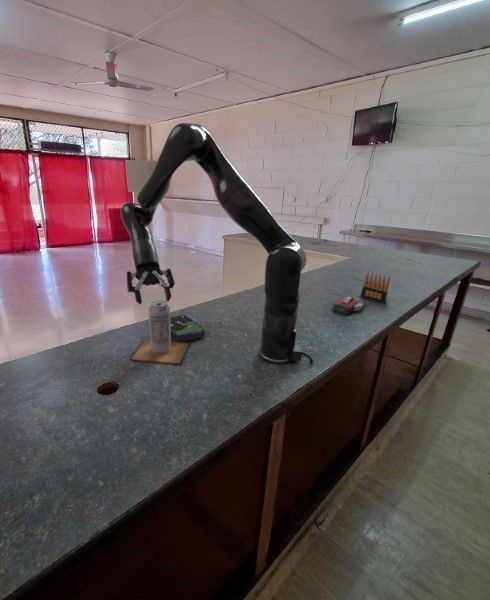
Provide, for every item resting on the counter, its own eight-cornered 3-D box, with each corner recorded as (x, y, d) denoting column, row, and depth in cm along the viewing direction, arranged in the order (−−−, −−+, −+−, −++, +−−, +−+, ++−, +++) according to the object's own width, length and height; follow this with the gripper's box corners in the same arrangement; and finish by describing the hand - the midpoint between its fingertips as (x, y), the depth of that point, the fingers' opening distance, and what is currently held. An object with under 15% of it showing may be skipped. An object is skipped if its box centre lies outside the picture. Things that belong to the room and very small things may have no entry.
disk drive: (158, 327, 110) (177, 343, 99) (157, 319, 109) (177, 335, 98) (184, 321, 116) (205, 336, 104) (184, 314, 115) (205, 328, 103)
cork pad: (188, 344, 99) (188, 343, 99) (179, 364, 88) (179, 363, 88) (145, 340, 101) (145, 339, 101) (131, 359, 90) (131, 358, 90)
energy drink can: (172, 345, 97) (172, 300, 92) (168, 355, 92) (167, 308, 86) (153, 344, 98) (151, 299, 92) (148, 354, 92) (146, 306, 87)
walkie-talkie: (352, 317, 123) (368, 304, 137) (354, 306, 122) (370, 294, 136) (330, 311, 129) (348, 299, 143) (332, 300, 127) (350, 290, 141)
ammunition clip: (386, 302, 140) (392, 276, 136) (384, 303, 139) (390, 277, 135) (361, 295, 147) (367, 271, 143) (360, 296, 146) (365, 271, 142)
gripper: (123, 250, 95) (131, 298, 89) (168, 248, 100) (179, 293, 94) (121, 263, 102) (129, 309, 96) (164, 260, 107) (174, 304, 101)
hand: (154, 301), depth 95 cm, fingers open, 8 cm apart
